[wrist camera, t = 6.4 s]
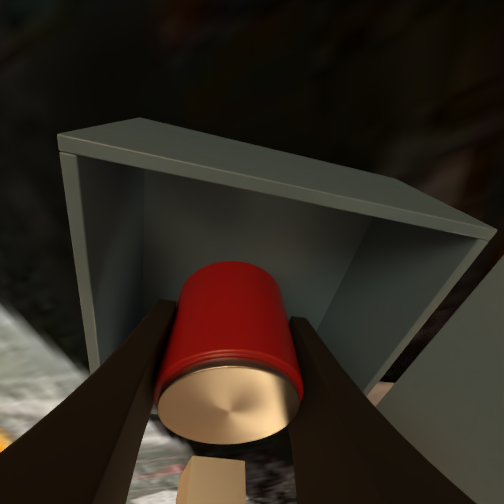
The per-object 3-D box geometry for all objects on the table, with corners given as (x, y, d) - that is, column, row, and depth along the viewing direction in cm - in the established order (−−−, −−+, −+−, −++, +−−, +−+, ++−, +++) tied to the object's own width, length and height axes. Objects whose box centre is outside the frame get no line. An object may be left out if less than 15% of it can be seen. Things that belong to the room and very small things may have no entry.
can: (267, 341, 13) (282, 449, 9) (175, 331, 12) (147, 444, 8) (294, 269, 10) (330, 370, 7) (184, 251, 10) (151, 353, 6)
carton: (395, 178, 13) (498, 229, 8) (315, 337, 19) (344, 425, 14) (138, 117, 11) (55, 133, 6) (137, 316, 17) (95, 411, 12)
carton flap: (514, 241, 7) (521, 242, 7) (347, 439, 13) (352, 438, 13) (1214, 571, 2) (1207, 560, 2) (448, 656, 8) (455, 651, 8)
